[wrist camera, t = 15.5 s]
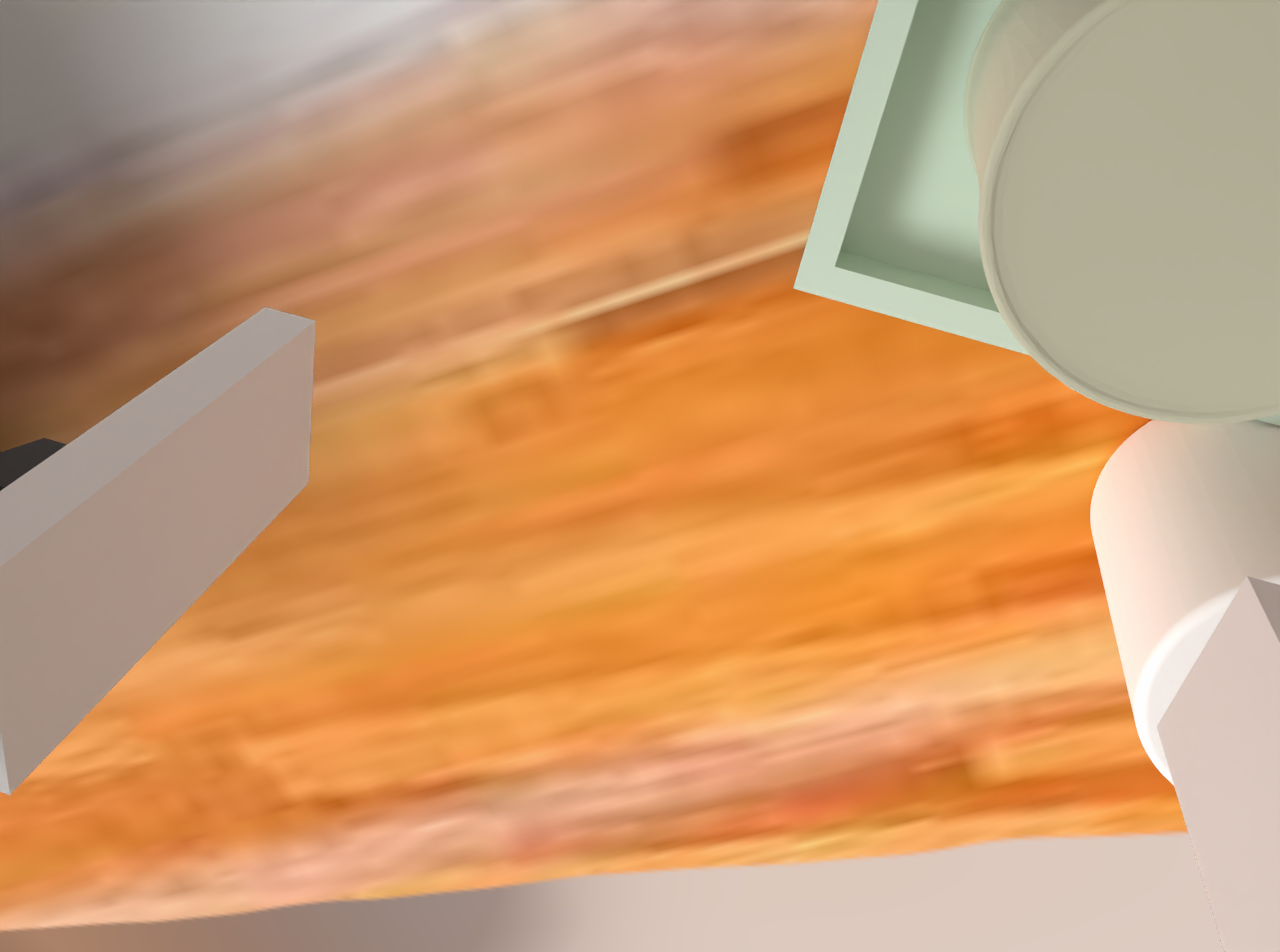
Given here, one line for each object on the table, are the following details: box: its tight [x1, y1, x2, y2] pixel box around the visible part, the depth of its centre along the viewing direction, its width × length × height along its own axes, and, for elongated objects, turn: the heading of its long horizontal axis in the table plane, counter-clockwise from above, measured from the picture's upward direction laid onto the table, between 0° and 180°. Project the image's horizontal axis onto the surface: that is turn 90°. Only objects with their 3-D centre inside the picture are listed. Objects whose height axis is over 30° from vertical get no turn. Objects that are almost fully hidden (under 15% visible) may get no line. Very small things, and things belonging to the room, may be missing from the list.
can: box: [964, 0, 1280, 424], centre depth 25 cm, size 9×9×12 cm
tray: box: [794, 0, 1280, 426], centre depth 30 cm, size 15×15×2 cm
